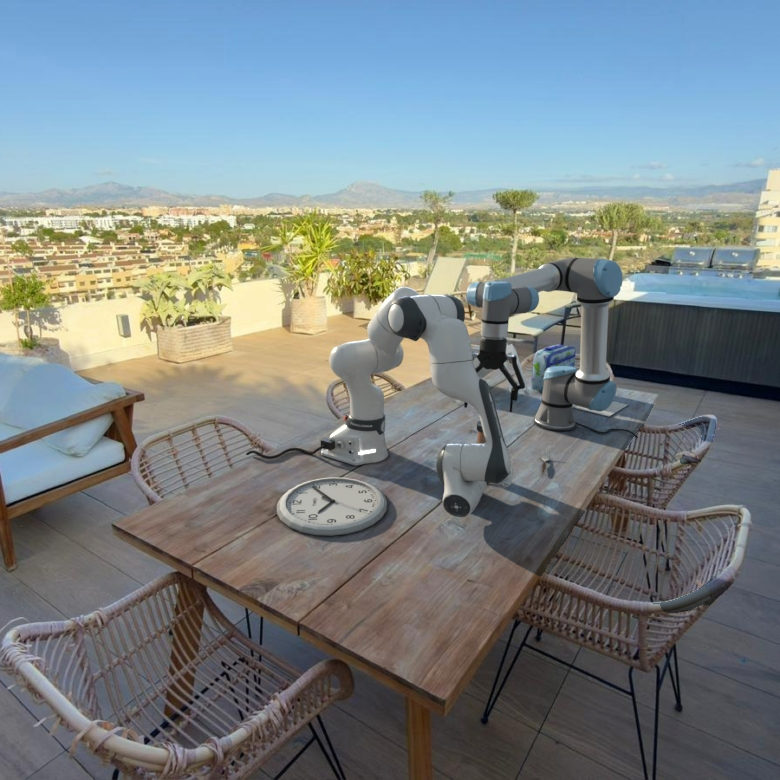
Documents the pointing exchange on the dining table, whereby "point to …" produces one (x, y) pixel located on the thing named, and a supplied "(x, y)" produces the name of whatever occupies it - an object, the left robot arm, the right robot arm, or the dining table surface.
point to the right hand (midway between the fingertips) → (488, 408)
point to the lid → (479, 427)
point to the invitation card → (609, 411)
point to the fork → (545, 460)
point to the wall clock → (331, 506)
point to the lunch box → (550, 362)
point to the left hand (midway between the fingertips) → (482, 460)
